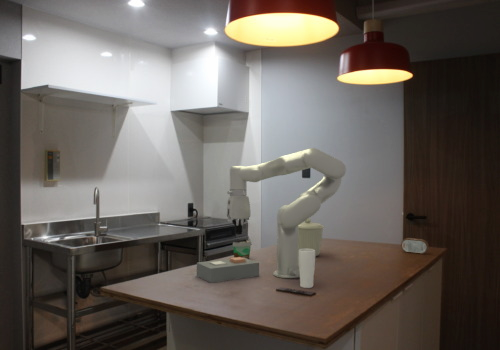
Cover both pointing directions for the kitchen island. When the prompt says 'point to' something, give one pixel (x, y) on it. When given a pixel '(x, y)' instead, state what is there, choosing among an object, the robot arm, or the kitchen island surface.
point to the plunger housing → (227, 270)
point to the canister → (310, 236)
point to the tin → (415, 245)
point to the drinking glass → (306, 267)
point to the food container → (242, 249)
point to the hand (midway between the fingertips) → (238, 233)
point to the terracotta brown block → (237, 260)
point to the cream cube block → (217, 263)
